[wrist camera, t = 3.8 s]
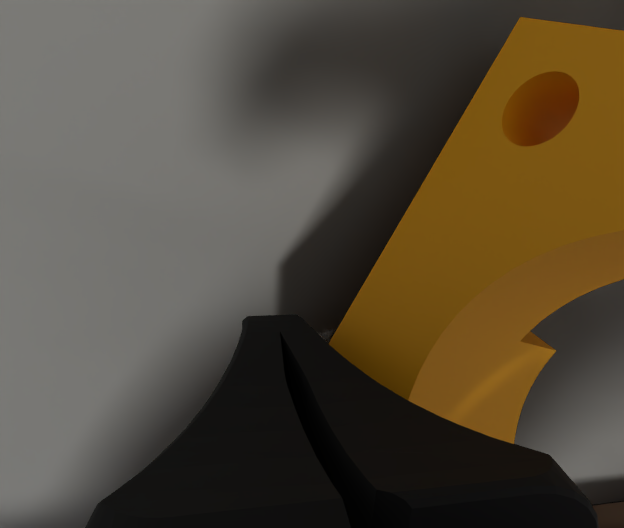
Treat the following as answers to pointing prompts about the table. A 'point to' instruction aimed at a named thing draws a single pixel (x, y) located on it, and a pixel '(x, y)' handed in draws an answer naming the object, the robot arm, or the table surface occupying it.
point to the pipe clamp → (501, 232)
